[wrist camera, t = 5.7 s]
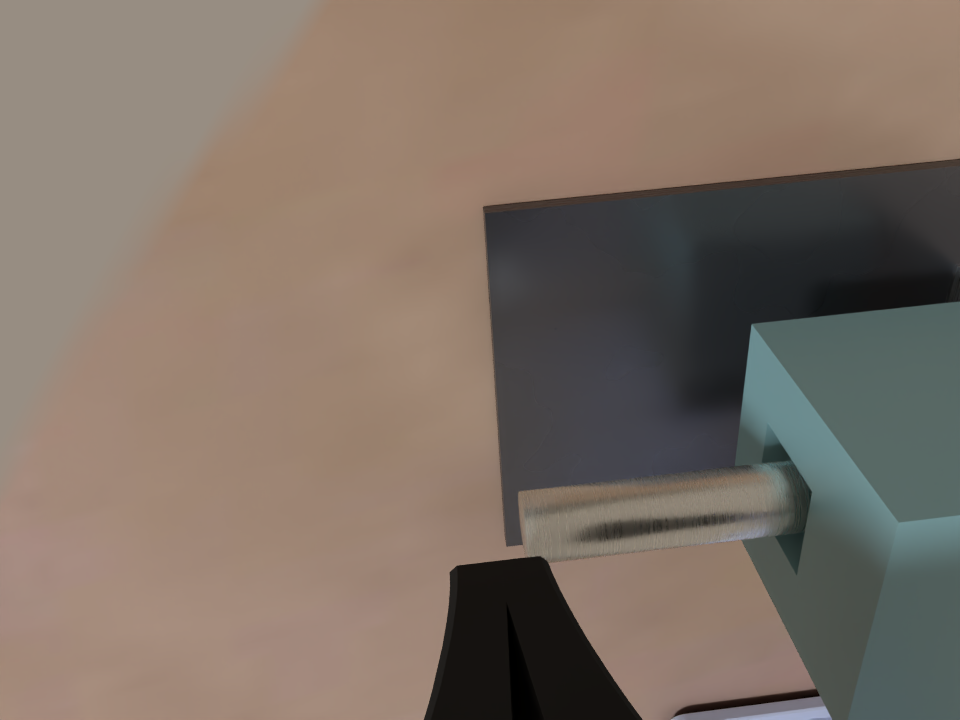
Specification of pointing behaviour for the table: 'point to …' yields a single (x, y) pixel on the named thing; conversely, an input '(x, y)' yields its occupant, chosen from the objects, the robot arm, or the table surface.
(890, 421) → the teal block on rod
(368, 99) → the table surface
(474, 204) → the table surface
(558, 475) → the grey metal stand
